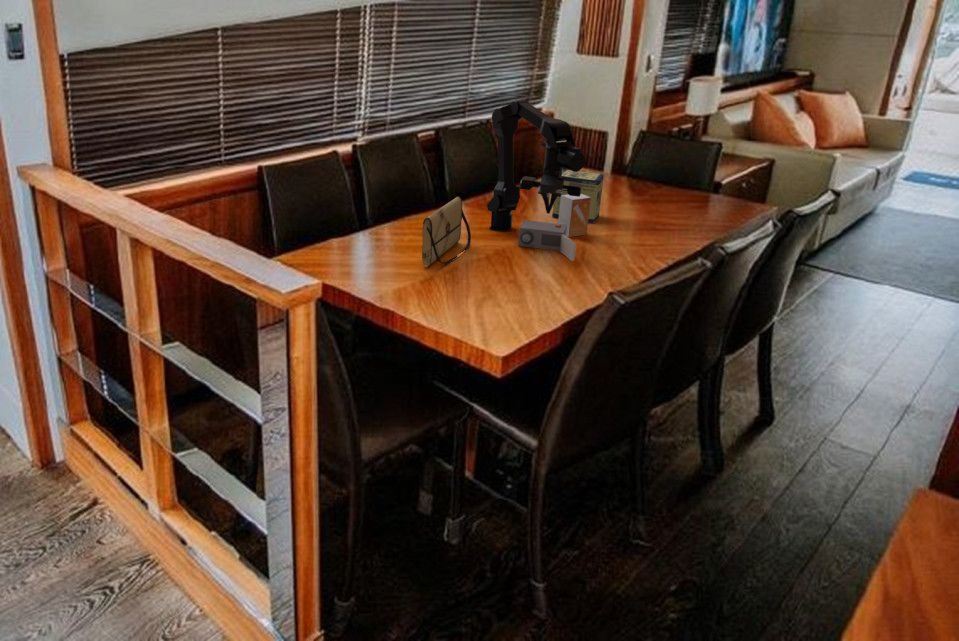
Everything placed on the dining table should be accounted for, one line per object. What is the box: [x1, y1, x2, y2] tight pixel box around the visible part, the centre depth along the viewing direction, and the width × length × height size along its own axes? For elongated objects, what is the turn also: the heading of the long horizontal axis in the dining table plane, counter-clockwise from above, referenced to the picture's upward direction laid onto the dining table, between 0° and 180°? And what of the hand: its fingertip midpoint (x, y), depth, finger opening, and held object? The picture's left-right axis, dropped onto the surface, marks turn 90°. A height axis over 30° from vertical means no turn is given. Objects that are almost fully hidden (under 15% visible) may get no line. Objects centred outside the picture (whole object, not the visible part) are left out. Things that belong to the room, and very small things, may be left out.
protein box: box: [551, 169, 605, 224], centre depth 282 cm, size 10×16×16 cm
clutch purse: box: [421, 196, 472, 267], centre depth 237 cm, size 30×7×15 cm, turn 162°
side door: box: [559, 234, 577, 262], centre depth 243 cm, size 10×1×6 cm, turn 18°
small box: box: [557, 194, 591, 238], centre depth 264 cm, size 8×6×13 cm
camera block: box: [517, 219, 567, 252], centre depth 252 cm, size 14×10×7 cm
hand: (548, 213), depth 246 cm, fingers closed
